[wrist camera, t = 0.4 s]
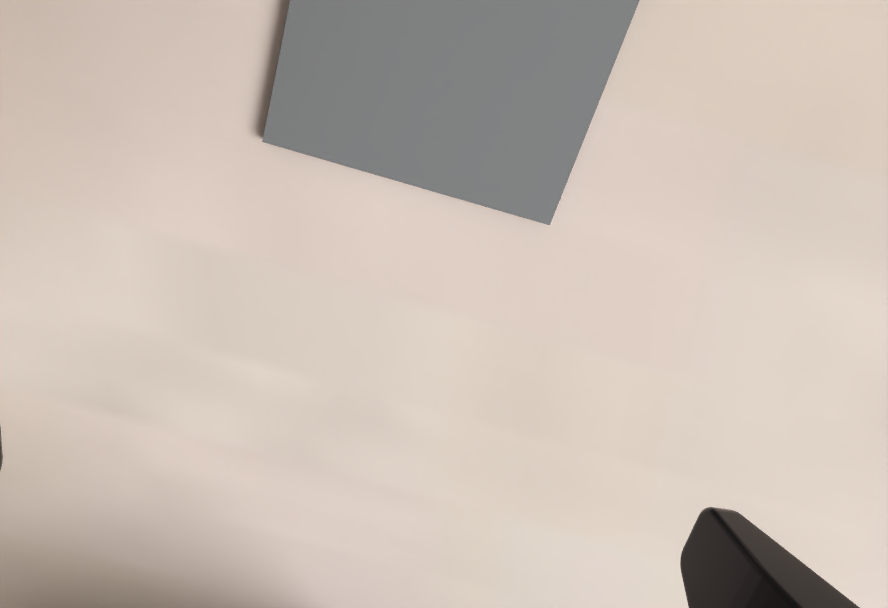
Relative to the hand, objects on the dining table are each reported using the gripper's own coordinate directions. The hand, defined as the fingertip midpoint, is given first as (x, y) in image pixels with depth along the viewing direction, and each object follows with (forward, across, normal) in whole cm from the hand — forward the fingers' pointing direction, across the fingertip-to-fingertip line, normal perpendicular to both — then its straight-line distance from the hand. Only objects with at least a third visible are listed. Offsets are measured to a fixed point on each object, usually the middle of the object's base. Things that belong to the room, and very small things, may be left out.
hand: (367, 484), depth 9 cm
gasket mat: (+14, -1, -4) cm, 14 cm away
